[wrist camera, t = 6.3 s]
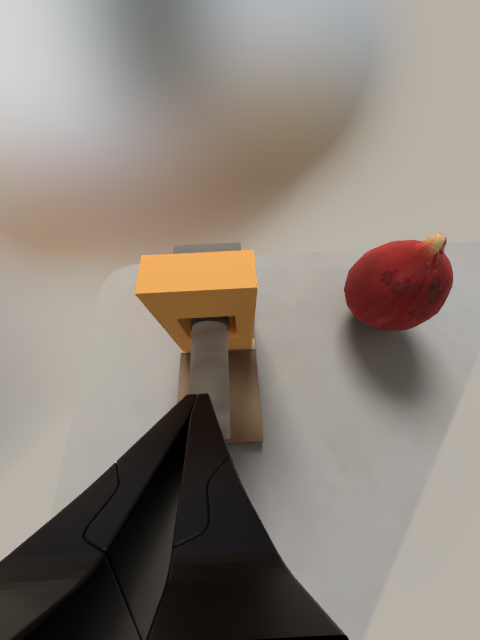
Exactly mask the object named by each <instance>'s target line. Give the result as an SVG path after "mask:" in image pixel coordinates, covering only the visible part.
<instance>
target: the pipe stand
mask: <svg viewBox="0 0 480 640" xmlns="http://www.w3.org/2000/svg"><path fill="white" fill-rule="evenodd" d="M240 250H241V247H240V243H223V244H205V245H204V244H203V245H182V246H174V253H173V254H181V253H201V252H221V251H240ZM190 329H191V330H192V341H191V351H189V352H183V350H182V349H181V361H180V376H179V391H178V402H179V401H180V400H181V399H182V398H183V397H184V396H186V395H187V394H197V395H198V394H201V393H208V394H209V396H210V399H211V402H212V404H213V407H214V410H215V413H216V416H217V419H218V421H219V424H220V427H221V430H222V433H223V435H224V438H225V441H226V443H243V442H261V441H263V437H262V424H261V412H260V400H259V388H258V376H257V363H256V351H255V339H254V328H253V338H252V348H246V349H228V330H229V316H222V317H203V318H191V324H190Z"/></svg>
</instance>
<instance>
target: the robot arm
mask: <svg viewBox="0 0 480 640" xmlns="http://www.w3.org/2000/svg"><path fill="white" fill-rule="evenodd" d="M0 640H349V639H348V637H347V636H346V635H345V634H344V633H343V631H342V630H341V629H340V628H339V627H338V626H337V625H336V624H335V622H334V621H333V620H332V619H331V618H330V617H329V616H328V614H327V613H326V612H325V611H324V610H323V609H322V608H321V607H320V605H319V604H318V603H317V602H316V601H315V600H314V599H313V597H312V596H311V595H310V594H309V593H308V592H307V591H306V590H305V588H304V587H303V586H302V585H301V584H300V583H299V582H298V580H297V579H296V578H295V577H294V576H293V575H292V573H291V572H290V570H289V569H288V568H287V566H286V565H285V563H284V561H283V560H282V558H281V557H280V555H279V553H278V552H277V550H276V548H275V546H274V544H273V543H272V541H271V539H270V537H269V535H268V533H267V531H266V530H265V528H264V526H263V524H262V522H261V520H260V518H259V516H258V515H257V513H256V511H255V509H254V507H253V505H252V503H251V501H250V500H249V498H248V496H247V493H246V491H245V489H244V487H243V485H242V483H241V481H240V479H239V476H238V474H237V471H236V469H235V466H234V463H233V460H232V458H231V455H230V452H229V449H228V447H227V444H226V441H225V438H224V435H223V433H222V430H221V427H220V424H219V421H218V419H217V416H216V413H215V410H214V407H213V404H212V402H211V399H210V396H209V394H208V393H201V394H198V395H197V394H187V395H186V396H184V397H183V398H182V399H181V400H180V401H179V402H178V403H177V404H176V405H175V406H174V407H173V408H172V409H171V410H170V411H169V412H168V413H167V414H166V415H165V416H164V417H162V418H161V419H160V420H159V421H158V422H157V423H156V424H155V425H154V426H153V427H152V428H151V429H150V430H149V431H148V432H147V433H146V434H145V435H144V436H143V437H141V438H140V439H139V440H138V441H137V442H136V443H135V444H134V445H133V446H132V447H131V448H130V449H129V450H128V451H127V452H126V453H125V454H124V455H123V456H122V457H121V458H119V459H118V460H117V464H116V463H114V464H113V465H112V466H111V467H110V468H109V469H108V470H107V471H106V472H105V473H104V474H103V475H101V476H100V477H99V478H98V479H97V480H96V481H95V482H94V483H93V484H92V485H91V486H89V487H88V488H87V489H86V490H85V491H84V492H83V493H82V494H80V495H79V496H78V497H77V498H76V499H75V500H73V501H72V502H71V503H70V504H69V505H68V506H66V507H65V508H64V509H63V510H62V511H60V512H59V513H58V514H57V515H56V516H54V517H53V518H52V519H51V520H50V521H49V522H47V523H46V524H45V525H44V526H43V527H41V528H40V529H39V530H38V531H37V532H35V533H34V534H33V535H32V536H31V537H29V538H28V539H27V540H26V541H25V542H23V543H22V544H21V545H20V546H19V547H17V548H16V549H15V550H14V551H13V552H11V553H10V554H9V555H8V556H7V557H5V558H4V559H3V560H2V561H1V562H0Z"/></svg>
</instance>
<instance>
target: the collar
mask: <svg viewBox="0 0 480 640" xmlns="http://www.w3.org/2000/svg"><path fill="white" fill-rule="evenodd" d="M135 295H136V296H137V297H138V298H139V299H140V301H141V302H142V303H143V304H144V305H145V306H146V308H147V309H148V310H149V311H150V312H151V314H152V315H153V316H154V317H155V318H156V320H157V321H158V322H159V323H160V324H161V325H162V327H163V328H164V329H165V330H166V331H167V333H168V334H169V335H170V336H171V337H172V339H173V340H174V341H175V342H176V343H177V344H178V346H179V347H180V348H181V349H182V350H183V352H189V351H191V341H192V330H191V329H190V324H191V318H203V317H222V316H229V330H228V349H246V348H252V338H253V328H254V317H255V307H256V296H257V279H256V269H255V258H254V250H242V251H241V250H240V251H221V252H201V253H181V254H161V255H142V257H141V262H140V268H139V273H138V279H137V284H136V290H135Z"/></svg>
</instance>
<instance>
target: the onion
mask: <svg viewBox="0 0 480 640" xmlns="http://www.w3.org/2000/svg"><path fill="white" fill-rule="evenodd" d="M445 245H446V237H445V236H444V235H443V234H442V233H437V234H436V235H435V236H433V237H431V238H428V239H426V240H425V241H423V242H422V241H416V240H407V241H393V242H390V243H387V244H384V245H382V246H379V247H377V248H374V249H372V250H370V251H368V252H367V253H365V254H364V255H363V256H362V257H361V258H360V259H359V260H358V261H357V262H356V263H355V264H354V265H353V267H352V268H351V269H350V270H349V272H348V276H347V279H346V283H345V287H344V292H345V297H346V302H347V306H348V307H349V309H350V310H351V312H352V313H353V315H354V316H355V317H357V318H358V319H359V320H360V321H361V322H363V323H364V324H366V325H368V326H371V327H373V328H376V329H378V330H386V331H391V330H407V329H410V328H413V327H415V326H417V325H419V324H421V323H423V322H425V321H427V320H429V319H430V318H431V317H433V316H434V315H435V314H437V313H438V312H439V310H440V309H441V307H442V306H443V304H444V302H445V300H446V298H447V297H448V295H449V292H450V290H451V288H452V283H453V271H452V267H451V263H450V261H449V259H448V258H447V256H446V255H445V254H444V247H445Z"/></svg>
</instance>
